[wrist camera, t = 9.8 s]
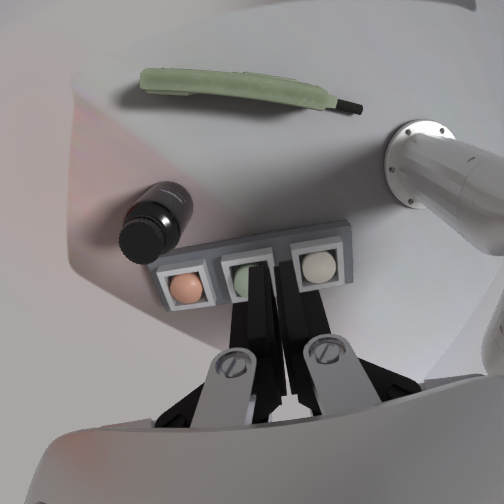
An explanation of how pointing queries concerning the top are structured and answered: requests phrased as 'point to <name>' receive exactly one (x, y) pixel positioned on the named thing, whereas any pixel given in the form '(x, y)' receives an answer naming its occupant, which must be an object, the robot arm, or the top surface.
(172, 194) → the supplement bottle
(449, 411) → the robot arm
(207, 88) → the handheld radio
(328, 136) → the top surface
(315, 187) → the top surface
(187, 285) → the terracotta button
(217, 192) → the top surface
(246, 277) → the sage button
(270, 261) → the button panel
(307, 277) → the cream button
